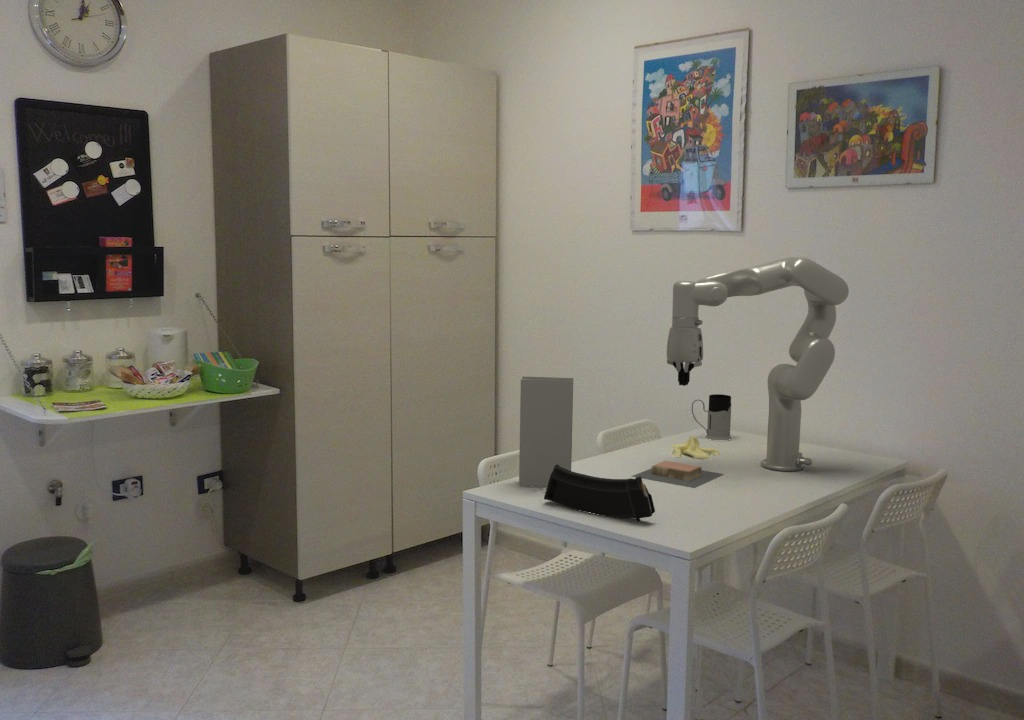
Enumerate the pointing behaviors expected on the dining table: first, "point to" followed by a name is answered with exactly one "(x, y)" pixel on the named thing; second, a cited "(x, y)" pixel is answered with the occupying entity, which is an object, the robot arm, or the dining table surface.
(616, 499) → the magazine
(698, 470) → the tile
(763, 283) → the robot arm
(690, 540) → the dining table surface
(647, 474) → the mat
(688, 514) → the dining table surface
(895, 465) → the dining table surface
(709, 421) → the glass holder
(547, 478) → the grey tall flat panel
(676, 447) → the cloth
